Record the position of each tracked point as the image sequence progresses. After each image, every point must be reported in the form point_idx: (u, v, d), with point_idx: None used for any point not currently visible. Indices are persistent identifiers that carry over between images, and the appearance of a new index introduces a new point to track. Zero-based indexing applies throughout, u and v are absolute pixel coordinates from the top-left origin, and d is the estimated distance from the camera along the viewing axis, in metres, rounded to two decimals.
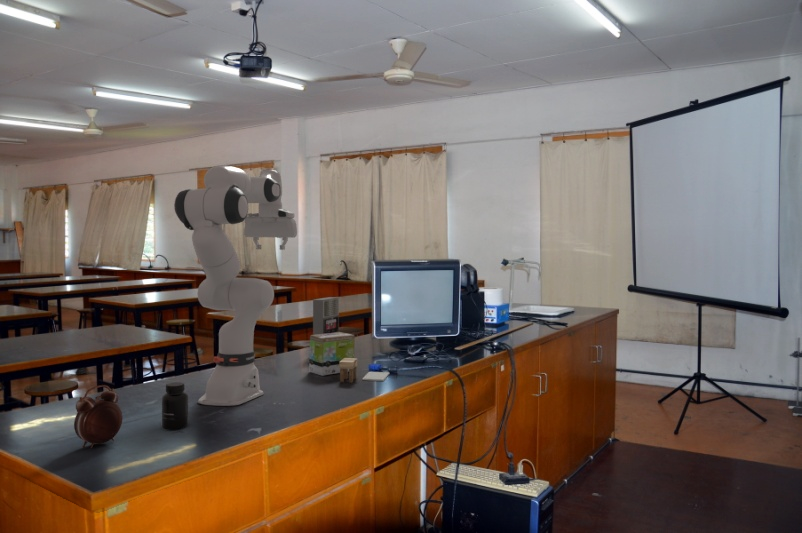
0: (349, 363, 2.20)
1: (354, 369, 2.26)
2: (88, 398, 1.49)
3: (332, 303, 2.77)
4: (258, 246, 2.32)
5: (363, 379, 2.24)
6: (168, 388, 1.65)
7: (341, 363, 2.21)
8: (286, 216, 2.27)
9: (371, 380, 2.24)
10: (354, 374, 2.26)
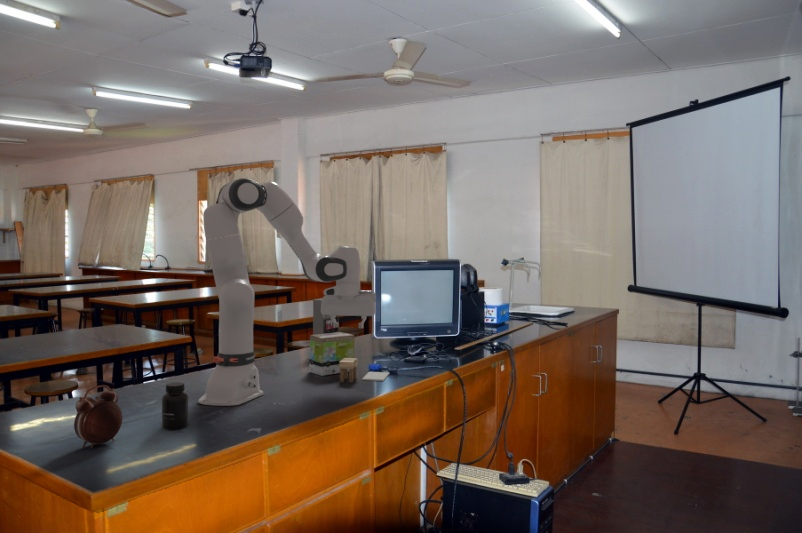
0: (349, 363, 2.20)
1: (354, 369, 2.26)
2: (88, 398, 1.49)
3: None
4: None
5: (363, 379, 2.24)
6: (168, 388, 1.65)
7: (341, 363, 2.21)
8: None
9: (371, 380, 2.24)
10: (354, 374, 2.26)
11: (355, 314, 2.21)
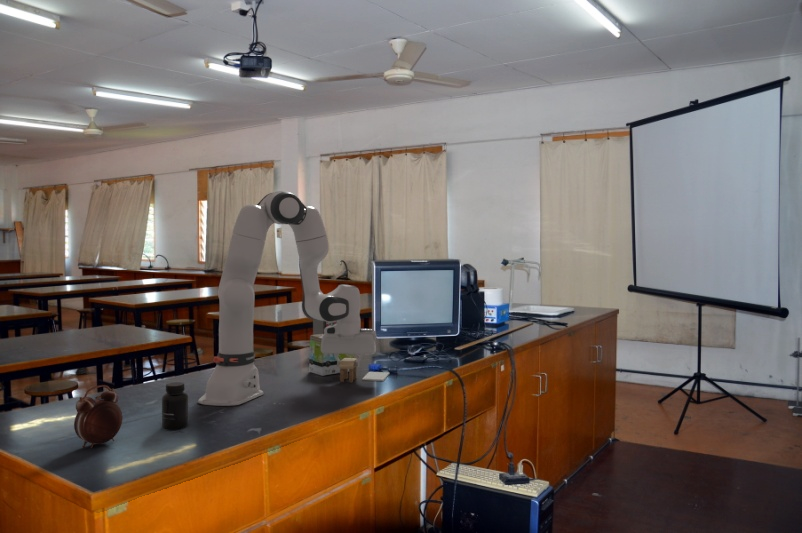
0: (349, 363, 2.20)
1: (354, 369, 2.26)
2: (88, 398, 1.49)
3: None
4: None
5: (363, 379, 2.24)
6: (168, 388, 1.65)
7: (341, 363, 2.21)
8: None
9: (371, 380, 2.24)
10: (354, 374, 2.26)
11: (356, 352, 2.22)
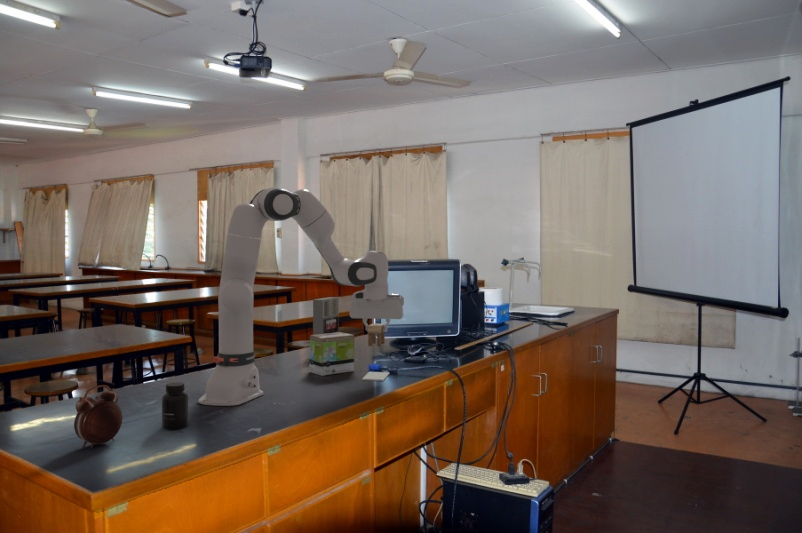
0: (377, 327, 2.25)
1: (382, 334, 2.31)
2: (88, 398, 1.49)
3: (332, 303, 2.77)
4: None
5: (363, 379, 2.24)
6: (168, 388, 1.65)
7: (369, 327, 2.26)
8: None
9: (371, 380, 2.24)
10: (382, 339, 2.31)
11: (383, 317, 2.27)
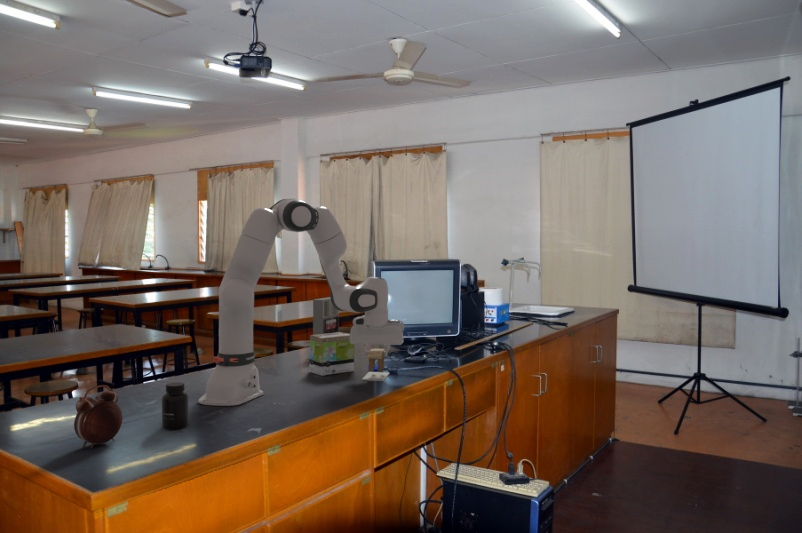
0: (378, 353, 2.26)
1: (382, 359, 2.31)
2: (88, 398, 1.49)
3: None
4: None
5: (363, 379, 2.24)
6: (168, 388, 1.65)
7: (370, 353, 2.26)
8: None
9: (371, 380, 2.24)
10: (382, 364, 2.31)
11: (384, 343, 2.27)
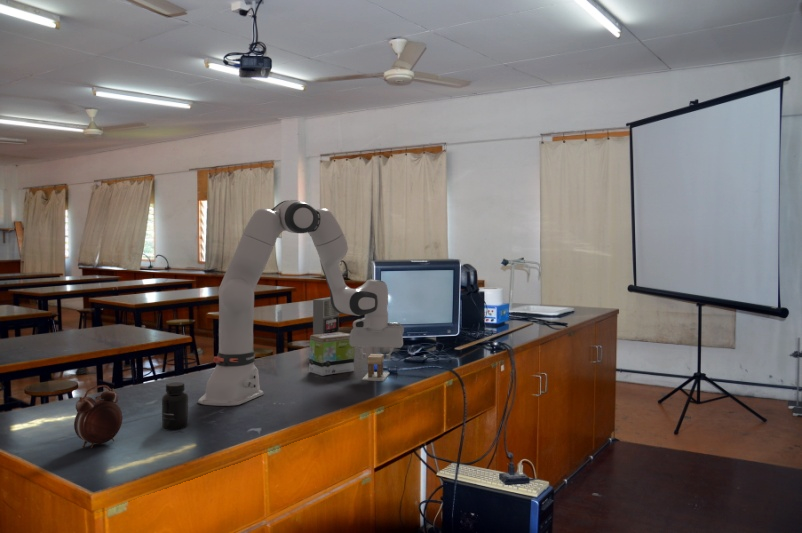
0: (377, 359, 2.26)
1: (381, 364, 2.31)
2: (88, 398, 1.49)
3: None
4: None
5: (363, 379, 2.24)
6: (168, 388, 1.65)
7: (369, 359, 2.26)
8: None
9: (371, 380, 2.24)
10: (381, 369, 2.31)
11: (383, 346, 2.27)
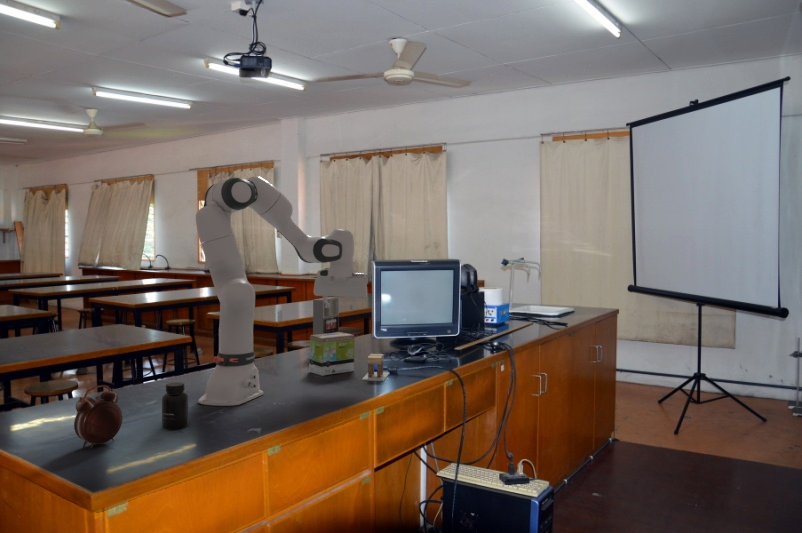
0: (377, 359, 2.26)
1: (381, 364, 2.31)
2: (88, 398, 1.49)
3: (332, 303, 2.77)
4: None
5: (363, 379, 2.24)
6: (168, 388, 1.65)
7: (369, 359, 2.26)
8: None
9: (371, 380, 2.24)
10: (381, 369, 2.31)
11: (347, 295, 2.28)
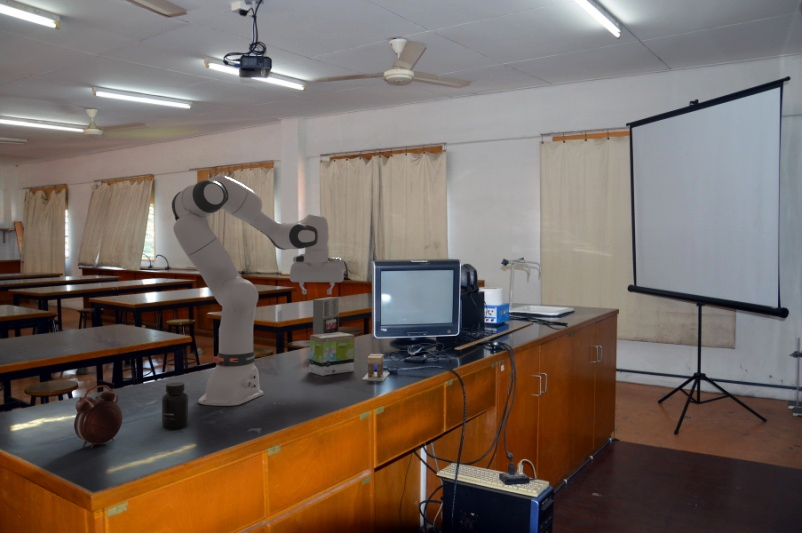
0: (377, 359, 2.26)
1: (381, 364, 2.31)
2: (88, 398, 1.49)
3: (332, 303, 2.77)
4: None
5: (363, 379, 2.24)
6: (168, 388, 1.65)
7: (369, 359, 2.26)
8: None
9: (371, 380, 2.24)
10: (381, 369, 2.31)
11: (324, 280, 2.29)
